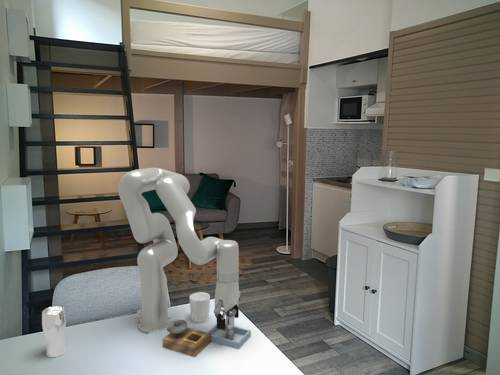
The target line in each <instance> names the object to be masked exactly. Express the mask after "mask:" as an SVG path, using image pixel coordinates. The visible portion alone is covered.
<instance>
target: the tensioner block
mask: <svg viewBox="0 0 500 375" xmlns="http://www.w3.org/2000/svg"><path fill="white" fill-rule="evenodd" d="M166 330H167V332H168V333H169V334H167V335H166V336H164V337H163V338H162V340H161V341H162V348H163V349H168V350H170V351H175V352H177V353H180V354H183V355H187V356H190V357H193V358H196V357H197V356H198V355H199V354H200V353H201V352H202V351H203V350H204V349H205V348H207V347H208V346H209V345H210V344H211V343H212V342H211V334H209V333H207V332H205V331H201V330H199V329H195V328H194V329H193V328H189V327H188V322H187V321H186V320H184V319H174V320H172V321H170V322H169V323H168V324H167V328H166Z"/></svg>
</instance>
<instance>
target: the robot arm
mask: <svg viewBox="0 0 500 375" xmlns="http://www.w3.org/2000/svg"><path fill="white" fill-rule="evenodd" d="M190 187H191V185H190V181H189V179H188V178H187V177H186V176H184V175H183V174H181V173H179V172H178V173H177V172H174V171H170V170H167V169H165V168H164V169H163V168H159V167H147V168H139V169H134V170H130V171H127V172H126V173H125V174H124V175H123V176H122V177H121V179H120V180H119V183H118V192H117V193H118V195H119V199H120V202H121V203H122V204H123V207H124V210H125V213H126V217H127V220H128V223H129V226H130V229H131V233H132V235H133V237H134V239H135V240H136V242H137V243H139V244H145V243H146V244H147V243H149V242H151V241H152V242H153V243H151V244H149V245H147V246H145V247H144V248H142V249H141V250H140V251H139V253H138V254H137V260H136V261H137V262H136V263H137V266H138V267H137V268H138V271H139V276H140V277H139V278H140V291H141V292H140V293H141V294H140V295H141V309H138V310H137V312H136V314H135V316H134V317H135V318H137V319H139V323H138V326H137V327H138V331H141V332H142V333H144V334H150V333H151V332H152V333H155V332H156V333H157V332H161V331H164V330H167V324H168V323H169V322H170V321H173V320H172V318H171V317H169V312H168V311H169V309H168V308H169V307H168V306H169V305H168V302H169V301H168V280H167V276H166V274H165V271H164V267H166V266H167V265H169V264H170V263H172V262H174V261H175V259H177V257H178V250H179V249H178V244H177V242H176V239H175V235H174V232H173V230H172V229H173V228H172V226H171V224H170V221H169V219H168V218H167V217H166V216H165V215H164V214H162V213H160V212H153V213H152V211H151V209H150V205H149V203H148V201H147V199H145V197H144V196H143V195H142V194H143V193H145V192H150V191H154V190H155V192H156V194H157V196H158V197H159V199H160V200H161V203H162V204H163V205H164V207H165V208H166V210H167V211H168V213H169V214H170V216H171V217H172V218H173V221H174V223H175V233H176V236H177V241H178V243H179V246H180V248H181V249H182V250H183V252H184V254H185V256H187V258H188V259H189V261H190V262H192V263H193V264H195V265H197V266H203V265H206V264H208V263H209V262H211V260H214V259H216V284H215V291H214V309H213V313H214V317H215V318H216V324H217V328H218V329H219V330H220V331H224V330H225V329H226V315H225V314H226V312H227V311H229V310H230V309H231V308H232V307H233V308H235V309H236V315H235V318H236V319H238V318H239V314H240V313H239V312H240V311H239V309H240V308H239V307H240V300H241V291H240V286H239V279H240V278H239V272H240V271H239V263H240V261H239V258H240V257H239V253H240V252H239V250H240V249H239V243H238V241H236V240H232V239H222V238H218V237H215V236H207V237H206V238H203V239H201V240H200V238H199V236H198V235H197V233H196V231H195V228H194V220H195V215H196V214H197V209H196V207H195V205H194V204H193V202H192V201H191V199H190V198H189V197H188V193H189V191H190ZM221 312H222V313H221ZM235 318H234V319H235Z"/></svg>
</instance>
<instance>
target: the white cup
mask: <svg viewBox="0 0 500 375" xmlns="http://www.w3.org/2000/svg"><path fill="white" fill-rule="evenodd" d="M210 300H211V295H210V293H207V292H202V291H201V292H199V291H198V292H195V293H192V294H189V309H190V316H191V318H190V319H191V321H192V322H194V323H204V322H207V321H208V320H209V318H210V317H209V316H210V306H211V304H210V302H211V301H210Z"/></svg>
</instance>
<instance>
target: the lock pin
mask: <svg viewBox="0 0 500 375" xmlns="http://www.w3.org/2000/svg"><path fill="white" fill-rule="evenodd" d="M235 315H236V309H235V308H233V307H232V308H231V309H230V310H229V311H227V312H226V314H225V319H226V329H225V334H224V338H225V339H229V340H233V341H234V338H235V336H234V335H235V333H234V326H235Z"/></svg>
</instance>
